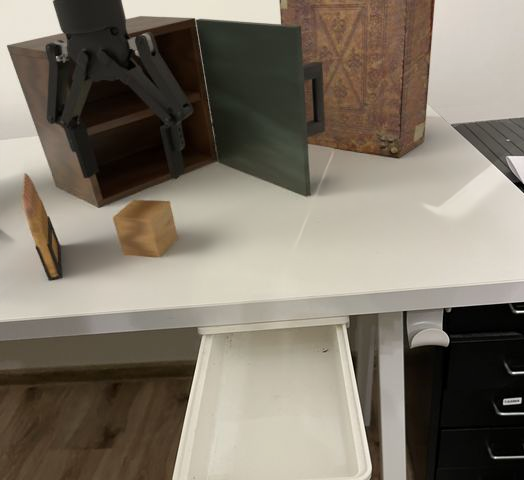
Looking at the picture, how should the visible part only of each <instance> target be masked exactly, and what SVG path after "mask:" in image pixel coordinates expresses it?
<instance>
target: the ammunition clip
mask: <svg viewBox="0 0 524 480" xmlns="http://www.w3.org/2000/svg"><path fill="white" fill-rule="evenodd" d="M21 202H22V207H23V210H24V213H25V216H26V220H27V222H28V227H29V231H30V234H31V235H32V238H33V240H34V243H35V250H36V252H37V255H38V257H39V259H40V263H41V265H42V267H43V269H44V272H45V275H46V277H47V280H48V281H51V280H56V279H59V278H63V268H62V253H61V244H60V242H59V239H58V236H57V234H56V230H55V228H54V226H53V223H52V220H51V218H50V216H48V213H47V211H46V208H45V206H44V203H43V200H42V199H41V197H40V195H39V193H38V191H37V189H36V186H35V184H34V182H33V180H32V179H31V177H30V176H29V175H28V174H27V173H24V174H23V186H22V196H21Z"/></svg>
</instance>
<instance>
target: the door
mask: <svg viewBox="0 0 524 480" xmlns="http://www.w3.org/2000/svg"><path fill="white" fill-rule="evenodd" d="M195 20H196V27H197V33H198V39H199V45H200V51H201V58H202V64H203V70H204V76H205V83H206V89H207V95H208V101H209V108H210V114H211V120H212V126H213V133H214V139H215V145H216V151H217V158H218V161H217V162H218V163H220V164H223V165H225V166H227V167H230V168H233V169H235V170H237V171H240V172H243V173H245V174H247V175H249V176H250V175H251V176H253V177H255V178H258V179H261V180H263V181H265V182H268V183H271V184H273V185H276V186H278V187H281V188H283V189H285V190H289V191H291V192H294V193H296V194H299V195H301V196H304V197H309V196H311V194H312V193H311V192H312V191H311V176H310V160H309V144H308V140H307V138H308V137H311V136H313V135H316V134H319V133H322V132H324V131H325V119H324V93H323V67H322V62H313V63H309V64H306V65H303V54H302V36H301V26H296V25H282V24H281V23H280V24H279V23H266V22H254V21H253V22H252V21H238V20H224V19H213V18H212V19H210V18H197V19H195ZM308 80H311V87H312V107H313V120H311V121H308V122H306V105H305V88H304V81H308Z"/></svg>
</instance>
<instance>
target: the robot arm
mask: <svg viewBox="0 0 524 480" xmlns="http://www.w3.org/2000/svg"><path fill="white" fill-rule="evenodd" d="M52 5H53V7H54V8H53V9H54V12H55V14H56V19H57V21H58V24H59V27H60V28H59V29H60V30H61V33H65V35H66V37H67V43H64V42H63V41H62V40H58V41H55V42H52V43H49V44H47V45H46V47H45V48H46V53H47V57H48V62H49V79H48V100H47V120H48V122H49V123H50V124H54V123H56V124H58V125H61V127H62V128H64V130H65V133H66V136H67V139H68V142H69V145H70V148H71V150H72V151H73V152H76V155H77V158H78V161H79V164H80V167H81V170H82V173H83V177H84V178H90V177H91V176H92V175H94V174H95V173H97V172H98V171H99V169H98V166H97V162H96V159H95V156H94V152H93V149H92V146H91V143H90V139H89V136H88V133H87V129H86V126H85V123H80V124H78V125H77V122H79V121H81V119H80V120H79V117H80V115H81V112H82V109H83V106H84V103H85V101H86V98H87V95H88V92H89V90H90V87H91V84H92V82H99V81H101V80H108V81H115V80H117V79H120V80H121V81H122V82H123V83H124V84H127V85H128V86H129V87H130V88H131V89H132V90H133V91H134V92H135V93H136V94H137V95H138V96H139V97H140V98H141V99H142V100H143V101H144V102H145V103H146V104H147V105H148V106H149V107H150V108H151V109H152V111H153V112H154V113H155V114H156V115H157V116H158V117H159V118H160V119H161V120H162V121H163V122H164V123H165V124H164V125H163V126H161V127H160V131H161V135H162V140H163V144H164V149H165V153H166V157H167V162H168V166H169V171H170V175H171V180H177V179H179V178H180V176H183V175H182V174H183V173H184V172H185V168H184V163H183V158H182V153H181V150H182V149H183V148H184V147H185V140H184V136H183V130H182V125H181V121H182V120H184V119H185V118H187V117H188V116H189V115H191V114H192V113H193V107H192V105H191V104H190V102H189V100H188V99H187V97H186V96H185V94H184V92H183V91H182V89H181V88H180V86H179V84H178V83H177V81H176V79H175V78H174V76H173V75H172V73H171V71H170V70H169V68H168V67H167V65H166V63H165V62H164V60H163V59H162V57H161V55H160V54H159V52H158V48H157V45H156V42H155V38H154V36H153V34H152V33H151V32H147V33H144V34H142V35H139V36H137V37H134V38H131V37H130V36H129V34H128V32H127V30H126V19H127V18H126V13H125V9H124V5H123V0H52ZM133 50H134V51H135V54H136V55H137V56H139V57H140V59H141V61H142V63H143V65H144V66H145V68H146V70H147V71H148V73H149V74H150V76H151V77H152V79H153V81H154V82H155V84H156V85H157V87H158V88H159V89H158V88H157V87H156V86H155V85H154V84H153V83H152V82H151V81H150V80H149V79H148V78H147V77H146V76H145V75H144V73H143V72H142V68H141V67H140V66H139V65H138V64H137V63H136V62H135V61H134V60H133V59H132V58H131V56H132V53H133ZM70 57H71V58H72V59H73V61H74V62H75V63H76V64H77V65H76V68H75V71H74V74H73V77H72V80H73V83H72V86H71V89H70V92H69V95H68V98H67V87H68V73H69V59H70ZM127 69H128V70H129V71H127Z"/></svg>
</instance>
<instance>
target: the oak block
mask: <svg viewBox="0 0 524 480" xmlns="http://www.w3.org/2000/svg"><path fill="white" fill-rule="evenodd" d="M112 221H113V224H114V227H115V230H116V233H117V237H118V241H119V244H120V246H121V251H122V253H123V256H129V257H130V256H131V257H144V258H159V259H160V258H161V257H162V256H163V255H164V254H165V253H166V252H167V251H168V250H169V249H170V248H171V247H172V246H173V244H174V243H176V242H177V240H178V239H179V237H178V232H177V229H176V228H177V227H176V224H175V219H174V214H173V210H172V205H171V201H170V200H151V199H149V200H148V199H133V200H131V201H129V203H128V204H126V206H124V207H123V208H122V209H121V210H120V211H118V212H117V213H116V214H115V215H114V216H112Z"/></svg>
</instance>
